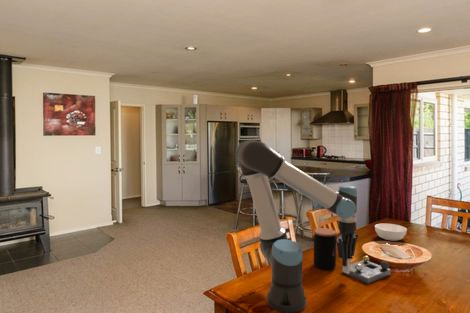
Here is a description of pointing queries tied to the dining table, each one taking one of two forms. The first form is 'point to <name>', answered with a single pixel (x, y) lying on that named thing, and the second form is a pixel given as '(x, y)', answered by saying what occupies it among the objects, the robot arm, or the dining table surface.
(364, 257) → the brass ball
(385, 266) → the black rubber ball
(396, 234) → the bowl
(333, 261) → the coffee jar
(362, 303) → the dining table surface
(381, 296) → the dining table surface
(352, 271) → the grey base plate
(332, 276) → the dining table surface
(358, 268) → the steel ball
